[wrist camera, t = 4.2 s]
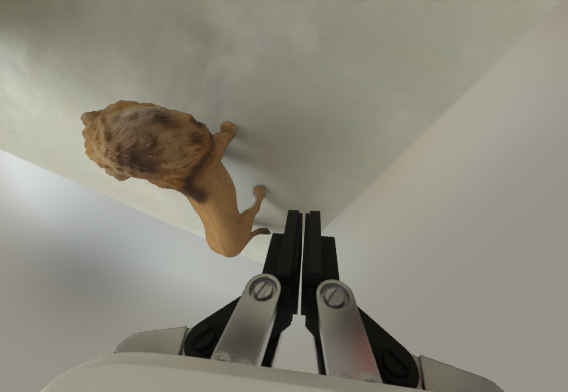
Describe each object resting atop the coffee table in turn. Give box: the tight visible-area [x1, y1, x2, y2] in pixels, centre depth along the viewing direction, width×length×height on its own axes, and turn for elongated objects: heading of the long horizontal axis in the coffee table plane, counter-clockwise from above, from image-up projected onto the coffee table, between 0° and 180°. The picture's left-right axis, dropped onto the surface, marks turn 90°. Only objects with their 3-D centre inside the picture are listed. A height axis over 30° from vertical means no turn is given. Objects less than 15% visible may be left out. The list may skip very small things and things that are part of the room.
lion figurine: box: [81, 100, 271, 257], centre depth 16 cm, size 15×5×9 cm, turn 27°
